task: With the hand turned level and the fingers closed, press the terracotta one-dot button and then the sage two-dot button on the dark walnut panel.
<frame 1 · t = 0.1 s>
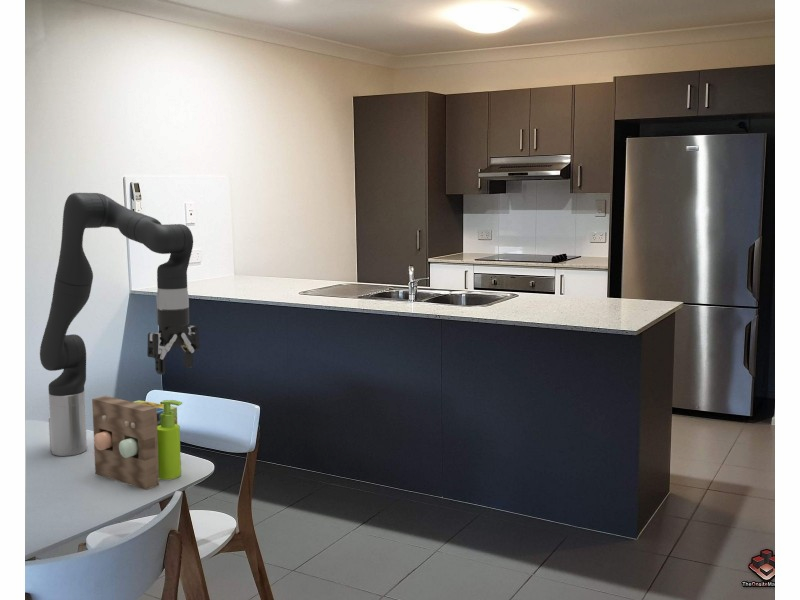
hand: (174, 370, 190), 29 cm above the table, tool pointing down, fingers open, 8 cm apart
button one: (104, 440, 196), point 10 cm above the table, slide at 0.0 cm
soap dispenser: (171, 476, 199), on the table
protein box: (145, 463, 209), on the table
button two: (129, 447, 190), point 10 cm above the table, slide at 0.0 cm
button panel: (126, 479, 196), on the table
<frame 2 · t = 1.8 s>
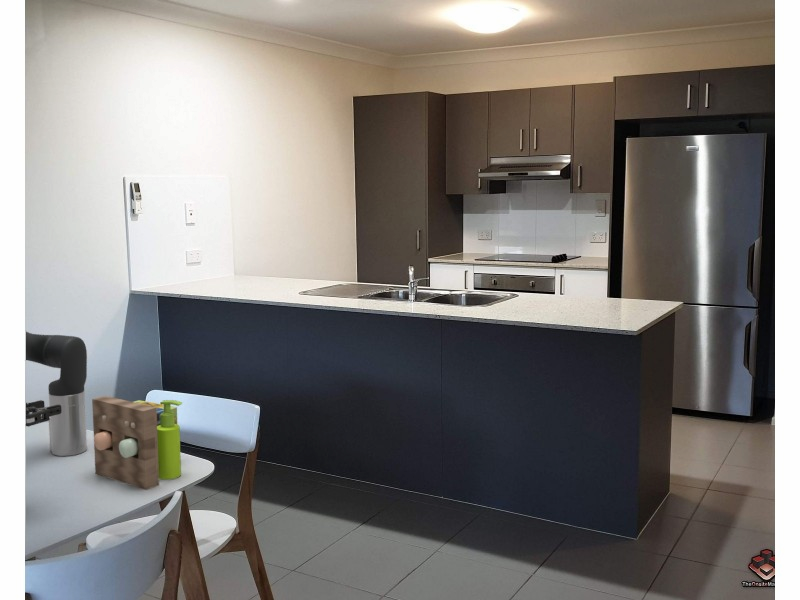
hand: (51, 406, 182), 22 cm above the table, tool horizontal, fingers open, 6 cm apart
nothing on the table moved.
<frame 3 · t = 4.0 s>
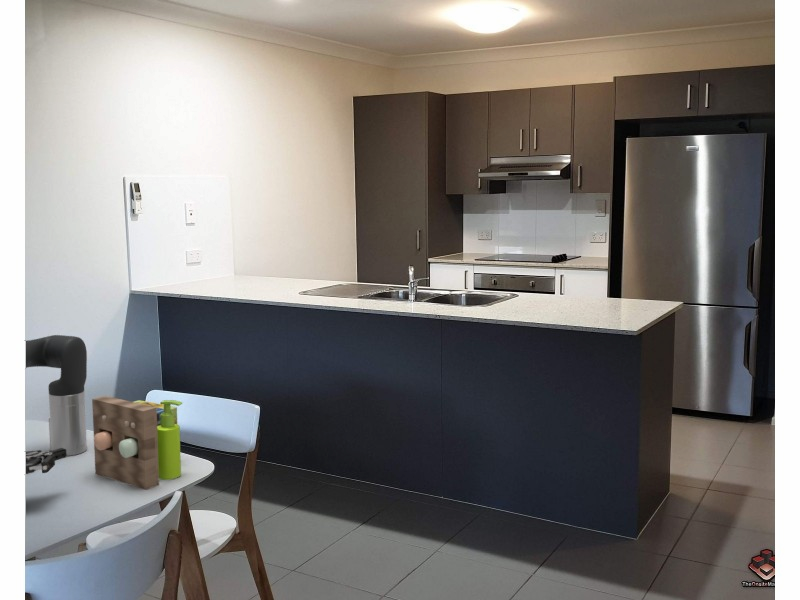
hand: (64, 452, 186), 10 cm above the table, tool horizontal, fingers closed
nothing on the table moved.
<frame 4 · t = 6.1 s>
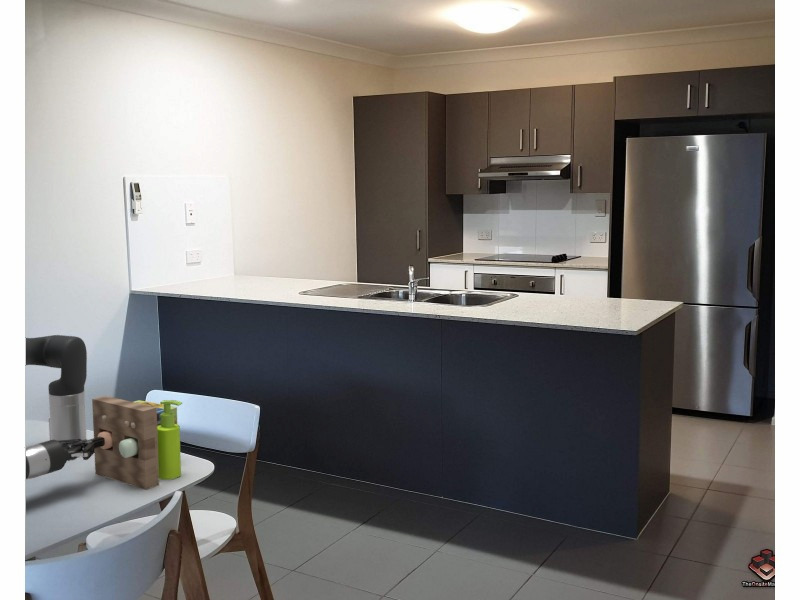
hand: (102, 440, 195), 10 cm above the table, tool horizontal, fingers closed
button one: (107, 439, 197), point 10 cm above the table, slide at 1.1 cm, touching gripper
everything else where it was.
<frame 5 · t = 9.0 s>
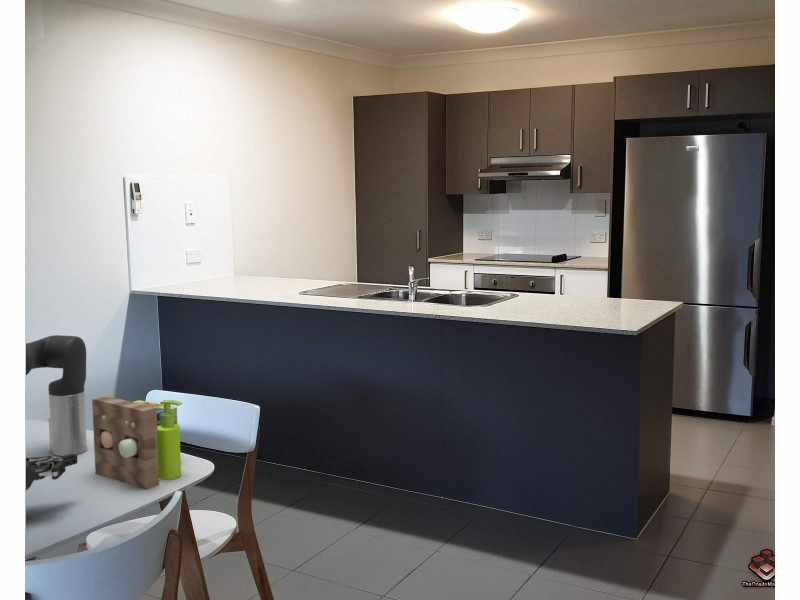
hand: (75, 458, 181), 10 cm above the table, tool horizontal, fingers closed
button one: (111, 438, 197), point 10 cm above the table, slide at 2.1 cm
everything else where it was.
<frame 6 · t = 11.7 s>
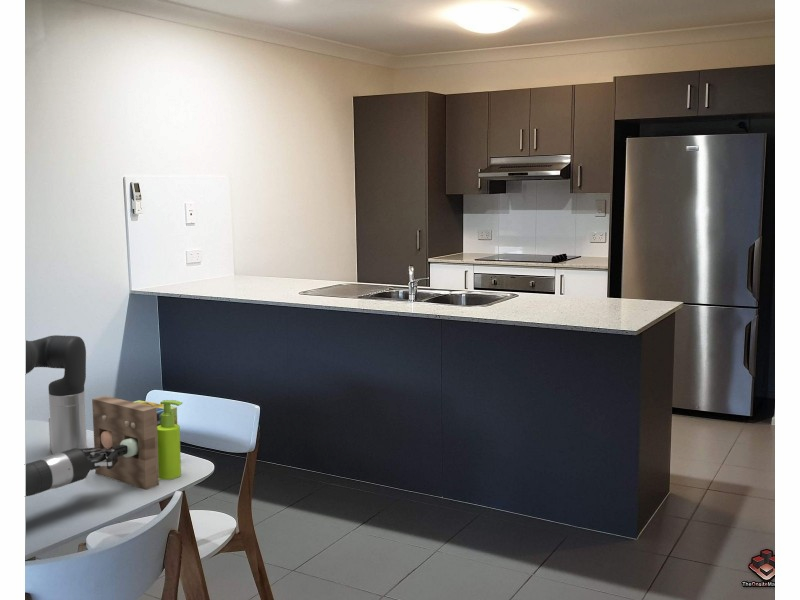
hand: (125, 448, 189), 10 cm above the table, tool horizontal, fingers closed
button two: (130, 447, 191), point 10 cm above the table, slide at 0.3 cm, touching gripper
everything else where it was.
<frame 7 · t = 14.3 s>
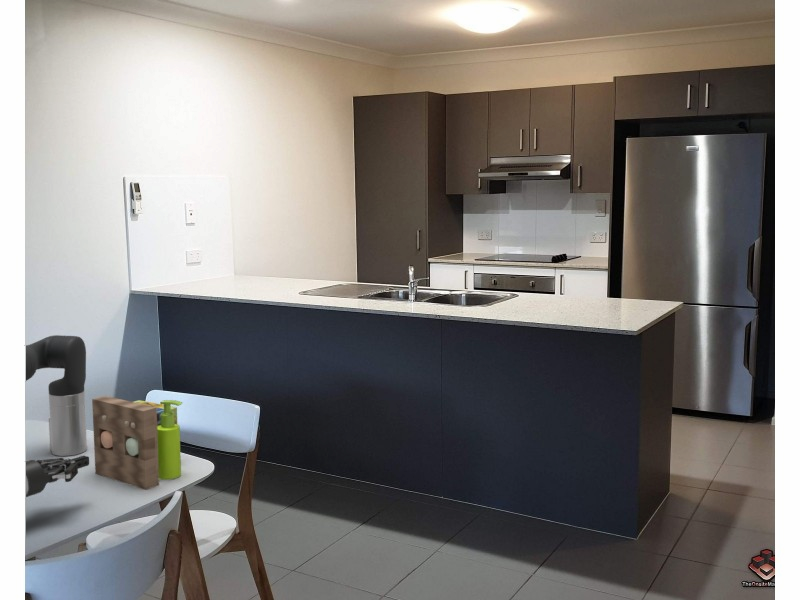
hand: (87, 460, 180), 10 cm above the table, tool horizontal, fingers closed
button two: (136, 445, 192), point 10 cm above the table, slide at 2.1 cm
everything else where it was.
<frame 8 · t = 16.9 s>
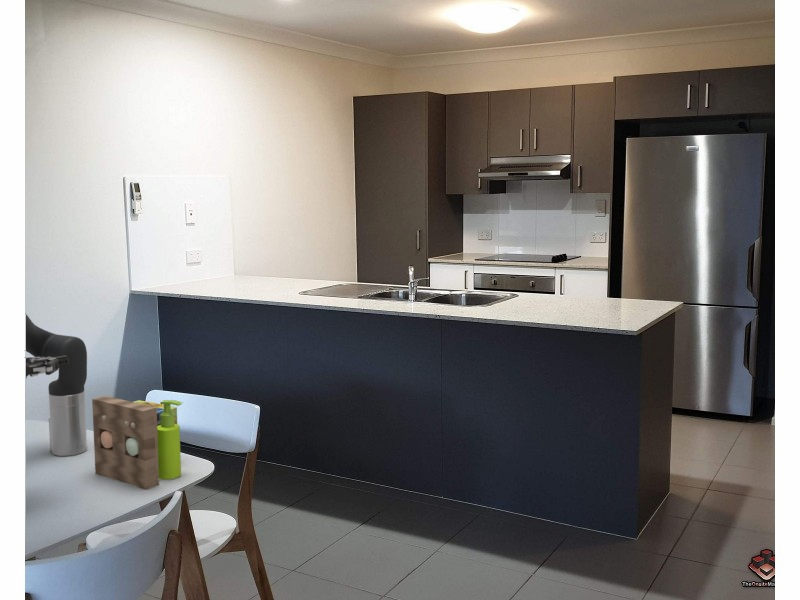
hand: (67, 359, 188), 32 cm above the table, tool horizontal, fingers closed
nothing on the table moved.
at the end: button one slide at 2.1 cm; button two slide at 2.1 cm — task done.
